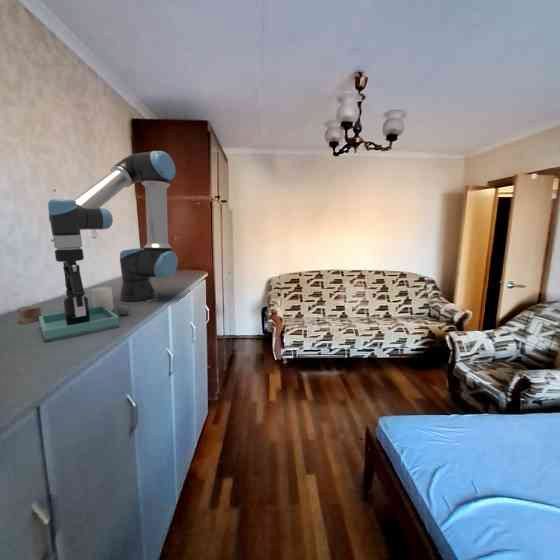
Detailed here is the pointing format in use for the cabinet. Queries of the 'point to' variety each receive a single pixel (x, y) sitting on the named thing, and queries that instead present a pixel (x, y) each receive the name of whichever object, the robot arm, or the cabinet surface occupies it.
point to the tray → (58, 329)
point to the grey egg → (123, 309)
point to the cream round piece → (103, 297)
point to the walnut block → (29, 314)
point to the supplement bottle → (70, 310)
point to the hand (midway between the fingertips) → (77, 311)
